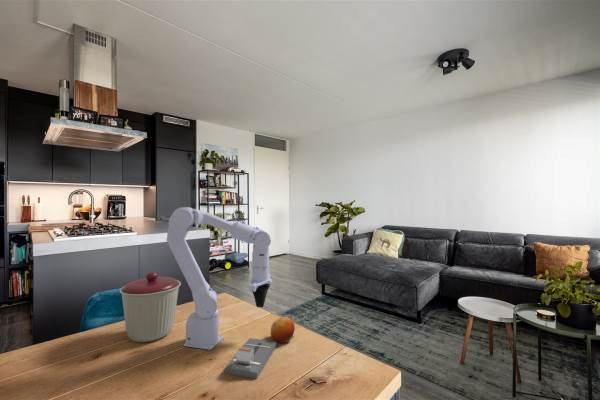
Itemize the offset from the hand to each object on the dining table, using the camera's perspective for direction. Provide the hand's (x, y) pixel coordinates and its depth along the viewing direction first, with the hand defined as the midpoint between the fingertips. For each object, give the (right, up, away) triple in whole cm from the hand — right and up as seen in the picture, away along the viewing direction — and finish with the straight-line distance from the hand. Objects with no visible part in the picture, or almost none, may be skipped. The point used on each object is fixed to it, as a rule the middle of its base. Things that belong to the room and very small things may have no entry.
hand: (260, 306), depth 91 cm
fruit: (+8, -10, -2) cm, 13 cm away
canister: (-37, -10, 0) cm, 38 cm away
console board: (0, -10, -13) cm, 17 cm away
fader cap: (-1, -8, -19) cm, 20 cm away
